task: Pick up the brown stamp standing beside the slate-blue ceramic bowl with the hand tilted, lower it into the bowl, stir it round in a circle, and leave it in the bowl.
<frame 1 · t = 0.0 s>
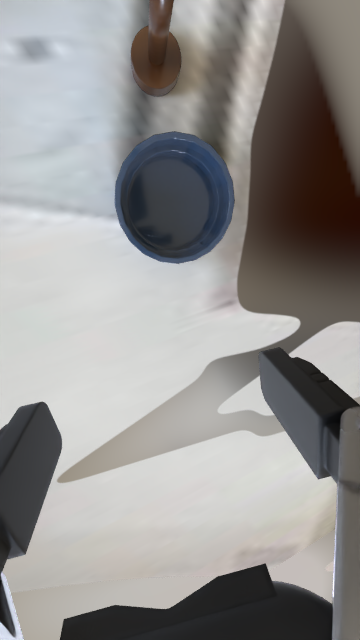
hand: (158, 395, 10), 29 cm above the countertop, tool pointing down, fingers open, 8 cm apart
brown stamp: (155, 67, 30), on the countertop
bowl: (171, 204, 35), on the countertop
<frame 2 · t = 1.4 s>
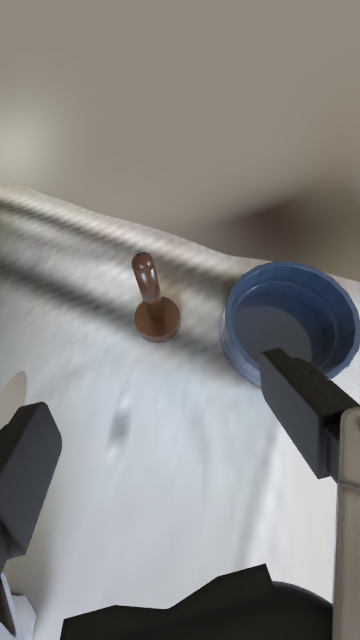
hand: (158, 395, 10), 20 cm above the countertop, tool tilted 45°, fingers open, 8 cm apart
salt shaker: (13, 623, 23), on the countertop
brown stamp: (158, 322, 33), on the countertop
bowl: (275, 335, 32), on the countertop
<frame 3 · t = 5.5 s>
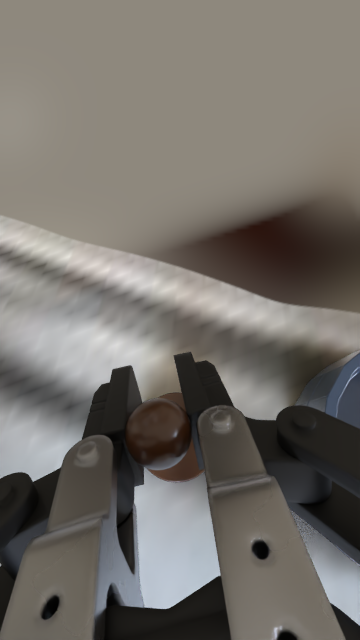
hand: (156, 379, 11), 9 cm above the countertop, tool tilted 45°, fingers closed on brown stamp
brown stamp: (177, 434, 19), on the countertop, touching gripper
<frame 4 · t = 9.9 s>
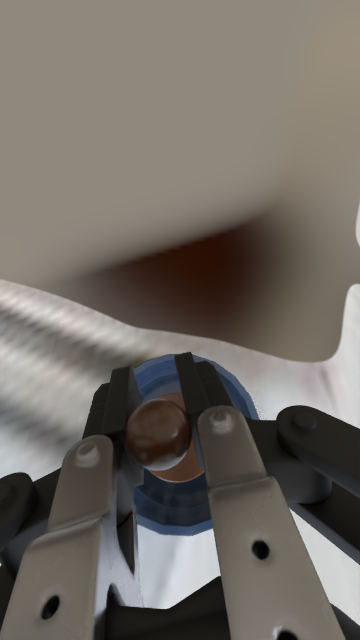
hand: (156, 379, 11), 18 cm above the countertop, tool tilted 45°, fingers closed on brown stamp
brown stamp: (178, 435, 19), point 8 cm above the countertop, touching gripper
bowl: (180, 434, 27), on the countertop
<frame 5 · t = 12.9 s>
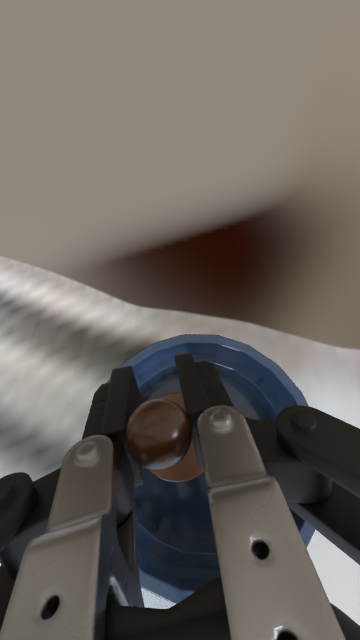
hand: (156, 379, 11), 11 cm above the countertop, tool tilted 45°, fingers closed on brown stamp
brown stamp: (178, 434, 19), point 1 cm above the countertop, touching gripper
bowl: (198, 444, 20), on the countertop
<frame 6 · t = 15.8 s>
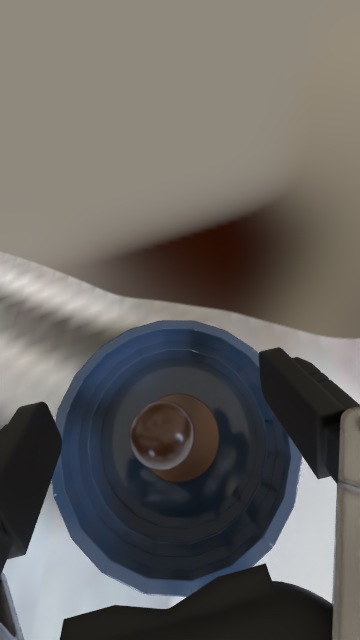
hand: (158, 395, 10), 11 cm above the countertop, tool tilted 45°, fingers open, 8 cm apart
brown stamp: (179, 435, 19), resting on bowl
bowl: (178, 434, 19), on the countertop
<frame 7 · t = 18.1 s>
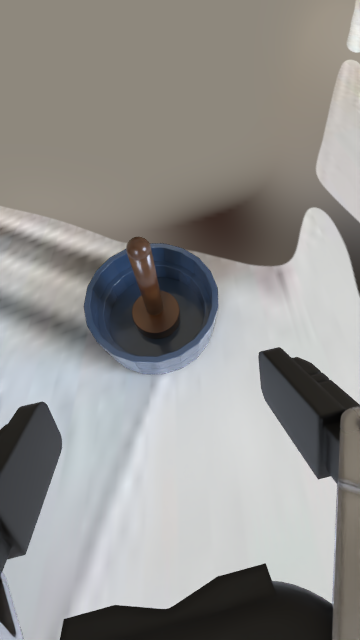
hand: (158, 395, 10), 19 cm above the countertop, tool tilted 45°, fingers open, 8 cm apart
brown stamp: (157, 318, 31), resting on bowl
bowl: (157, 319, 32), on the countertop
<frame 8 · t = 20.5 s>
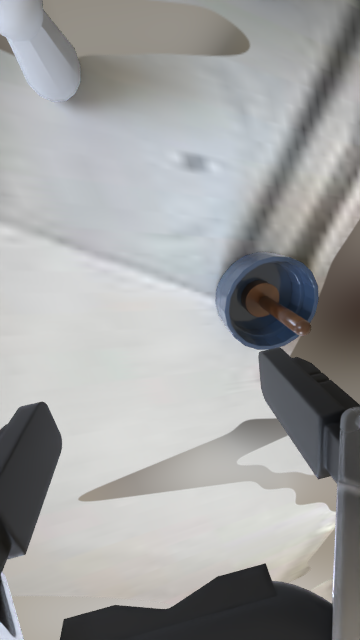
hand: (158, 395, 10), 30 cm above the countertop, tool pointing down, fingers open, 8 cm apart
salt shaker: (58, 78, 30), on the countertop
brown stamp: (257, 296, 41), resting on bowl
bowl: (256, 295, 42), on the countertop
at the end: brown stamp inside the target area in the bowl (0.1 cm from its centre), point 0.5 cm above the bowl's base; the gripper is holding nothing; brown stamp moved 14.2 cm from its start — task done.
